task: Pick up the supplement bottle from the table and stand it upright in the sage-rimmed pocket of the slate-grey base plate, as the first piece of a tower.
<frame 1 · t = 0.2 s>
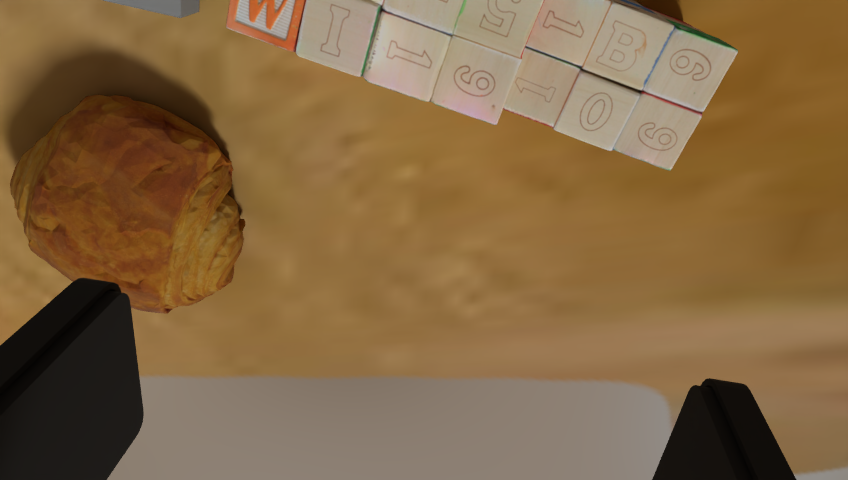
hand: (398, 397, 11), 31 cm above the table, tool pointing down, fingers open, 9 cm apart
stack of blocks: (490, 5, 37), on the table
croissant: (154, 190, 45), on the table
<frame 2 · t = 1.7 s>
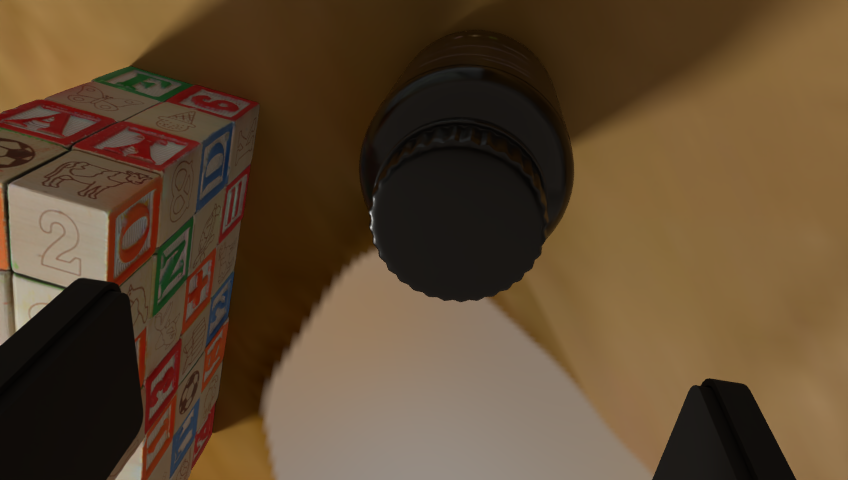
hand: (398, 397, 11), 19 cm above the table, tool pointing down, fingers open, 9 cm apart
stack of blocks: (180, 273, 34), on the table
supplement bottle: (476, 106, 27), on the table
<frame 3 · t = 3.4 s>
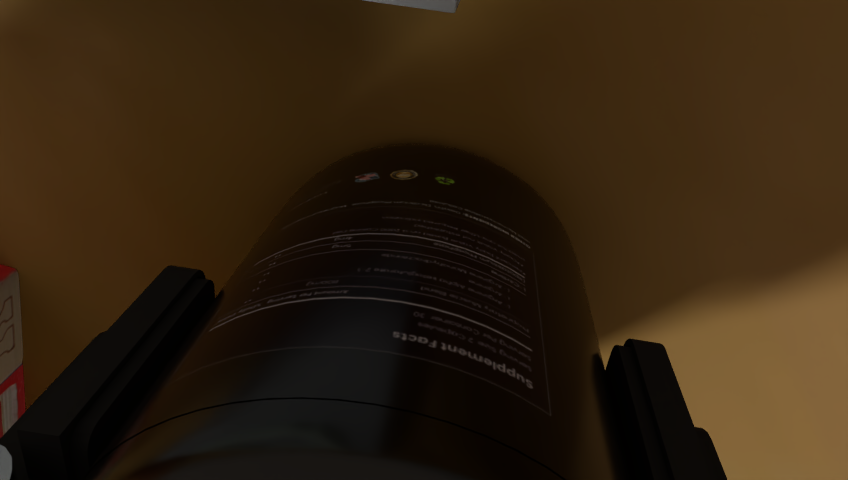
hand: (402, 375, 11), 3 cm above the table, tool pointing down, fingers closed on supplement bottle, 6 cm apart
supplement bottle: (424, 274, 14), on the table, touching gripper
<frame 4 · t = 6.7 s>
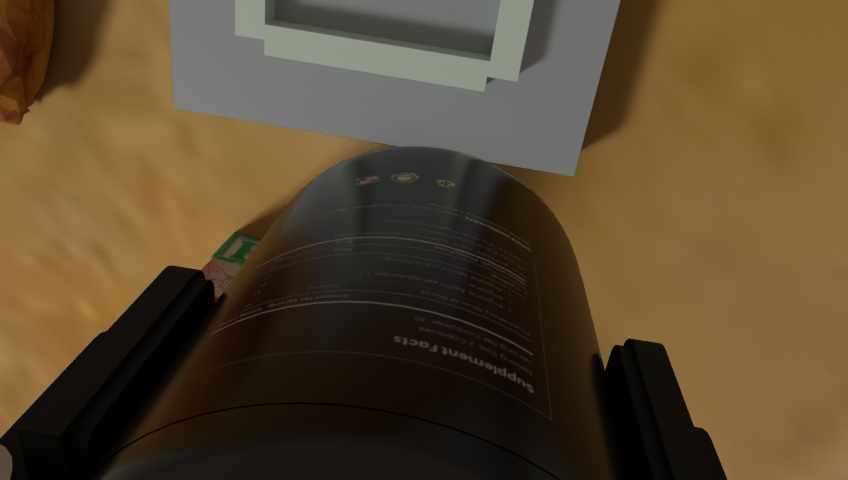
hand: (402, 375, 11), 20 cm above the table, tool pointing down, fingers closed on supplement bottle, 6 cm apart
stack of blocks: (265, 388, 39), on the table
supplement bottle: (424, 276, 14), point 17 cm above the table, touching gripper
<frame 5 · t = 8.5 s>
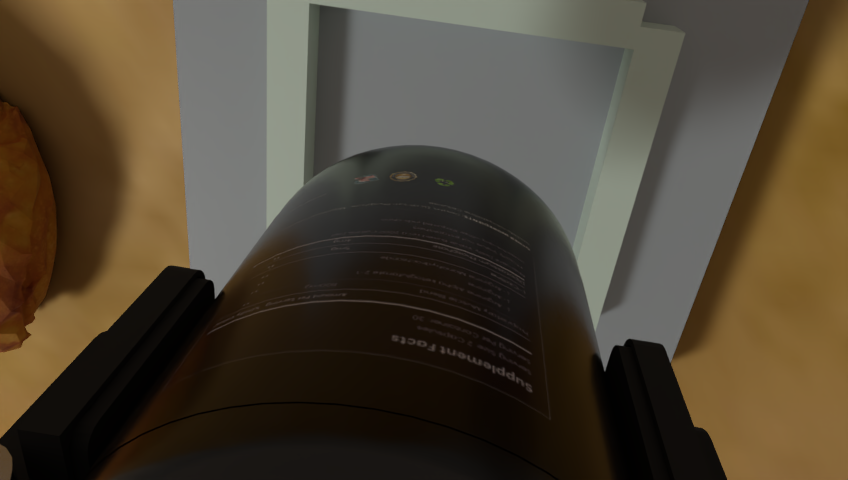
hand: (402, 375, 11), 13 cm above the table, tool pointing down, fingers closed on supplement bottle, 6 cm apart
base plate: (455, 139, 23), on the table
supplement bottle: (424, 275, 14), point 10 cm above the table, touching gripper
when the fingers open (8 cm above the table, at t = 10.0 s): supplement bottle drops 2 cm, resting on base plate.
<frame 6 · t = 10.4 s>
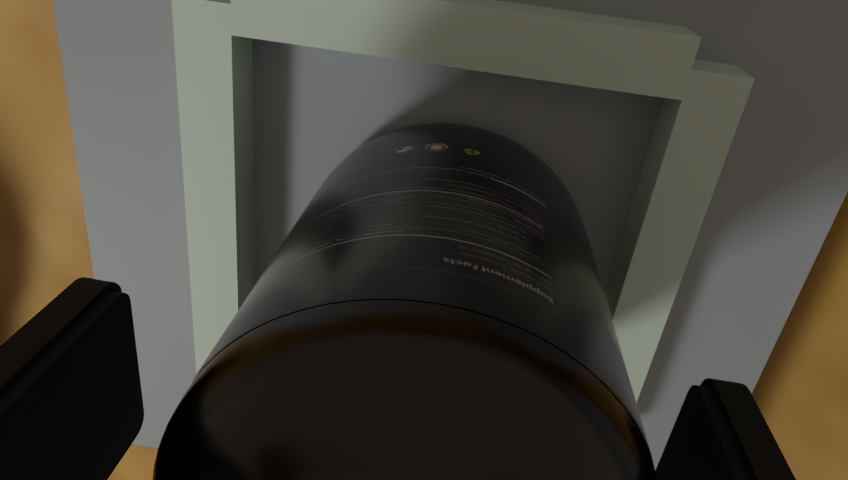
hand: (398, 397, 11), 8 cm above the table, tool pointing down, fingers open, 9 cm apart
base plate: (439, 198, 18), on the table
supplement bottle: (447, 242, 16), point 2 cm above the table, touching base plate
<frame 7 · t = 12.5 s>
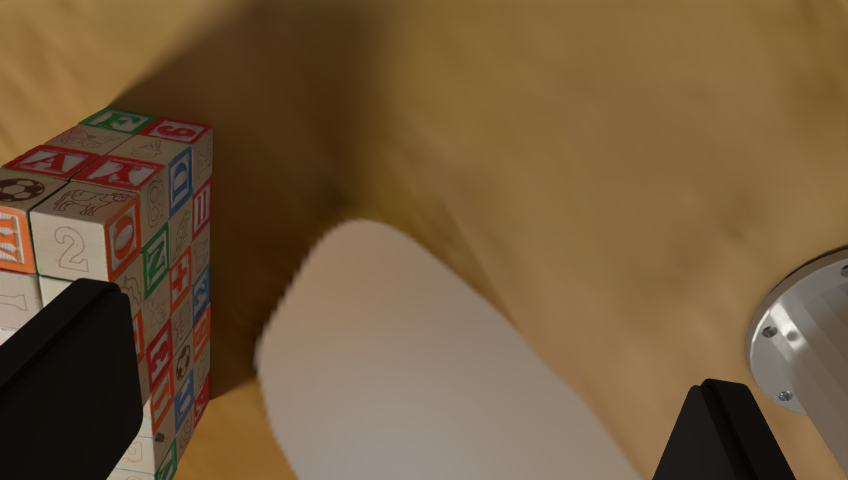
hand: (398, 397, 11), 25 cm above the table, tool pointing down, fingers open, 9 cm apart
stack of blocks: (166, 270, 41), on the table
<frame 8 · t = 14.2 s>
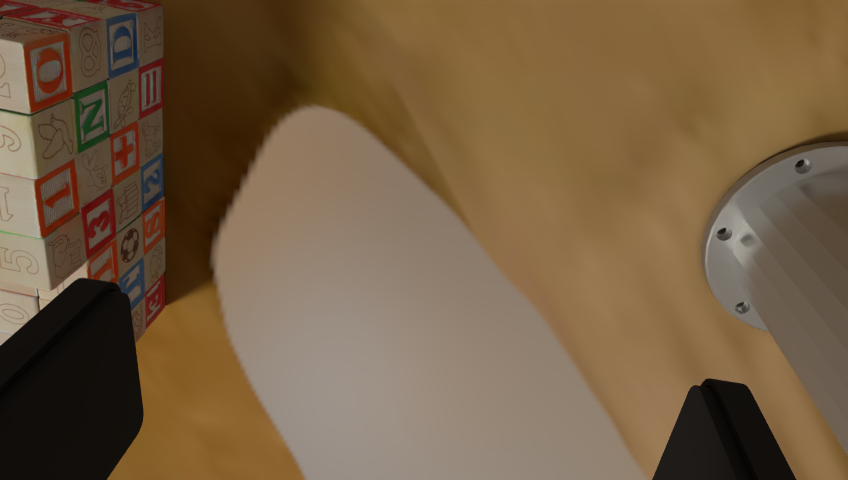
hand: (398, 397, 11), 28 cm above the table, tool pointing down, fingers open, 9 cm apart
stack of blocks: (121, 162, 41), on the table
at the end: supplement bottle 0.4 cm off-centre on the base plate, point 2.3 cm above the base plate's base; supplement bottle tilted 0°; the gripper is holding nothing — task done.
